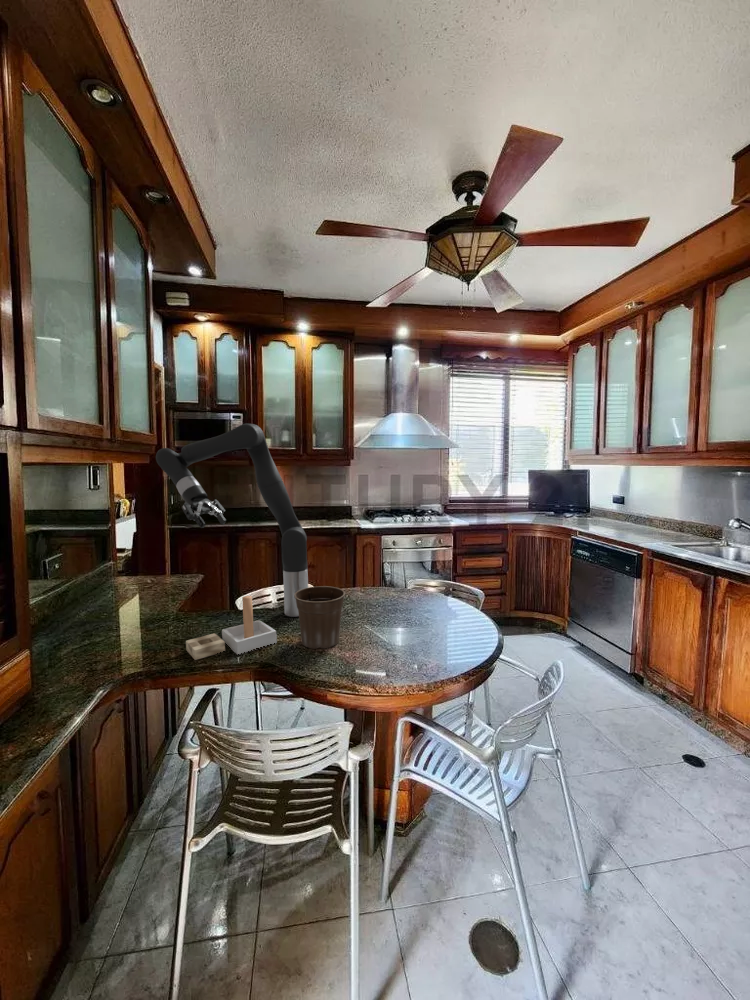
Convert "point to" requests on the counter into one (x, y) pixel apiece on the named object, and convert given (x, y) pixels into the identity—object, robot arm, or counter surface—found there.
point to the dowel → (248, 616)
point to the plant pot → (319, 615)
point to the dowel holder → (205, 646)
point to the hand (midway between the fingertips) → (214, 524)
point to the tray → (261, 637)
